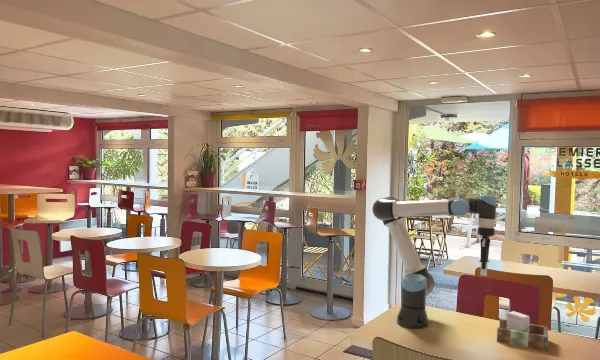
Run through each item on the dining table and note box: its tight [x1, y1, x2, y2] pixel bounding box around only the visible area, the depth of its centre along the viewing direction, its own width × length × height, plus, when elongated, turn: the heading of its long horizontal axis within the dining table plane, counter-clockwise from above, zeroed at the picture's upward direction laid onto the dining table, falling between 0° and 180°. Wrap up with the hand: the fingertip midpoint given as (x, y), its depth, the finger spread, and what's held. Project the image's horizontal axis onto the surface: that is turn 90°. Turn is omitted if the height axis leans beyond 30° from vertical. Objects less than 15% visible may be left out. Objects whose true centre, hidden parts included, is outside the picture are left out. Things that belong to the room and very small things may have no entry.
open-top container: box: [496, 318, 549, 352], centre depth 209 cm, size 20×15×6 cm
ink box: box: [506, 310, 531, 333], centre depth 210 cm, size 9×5×12 cm, turn 30°
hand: (483, 275), depth 224 cm, fingers closed
